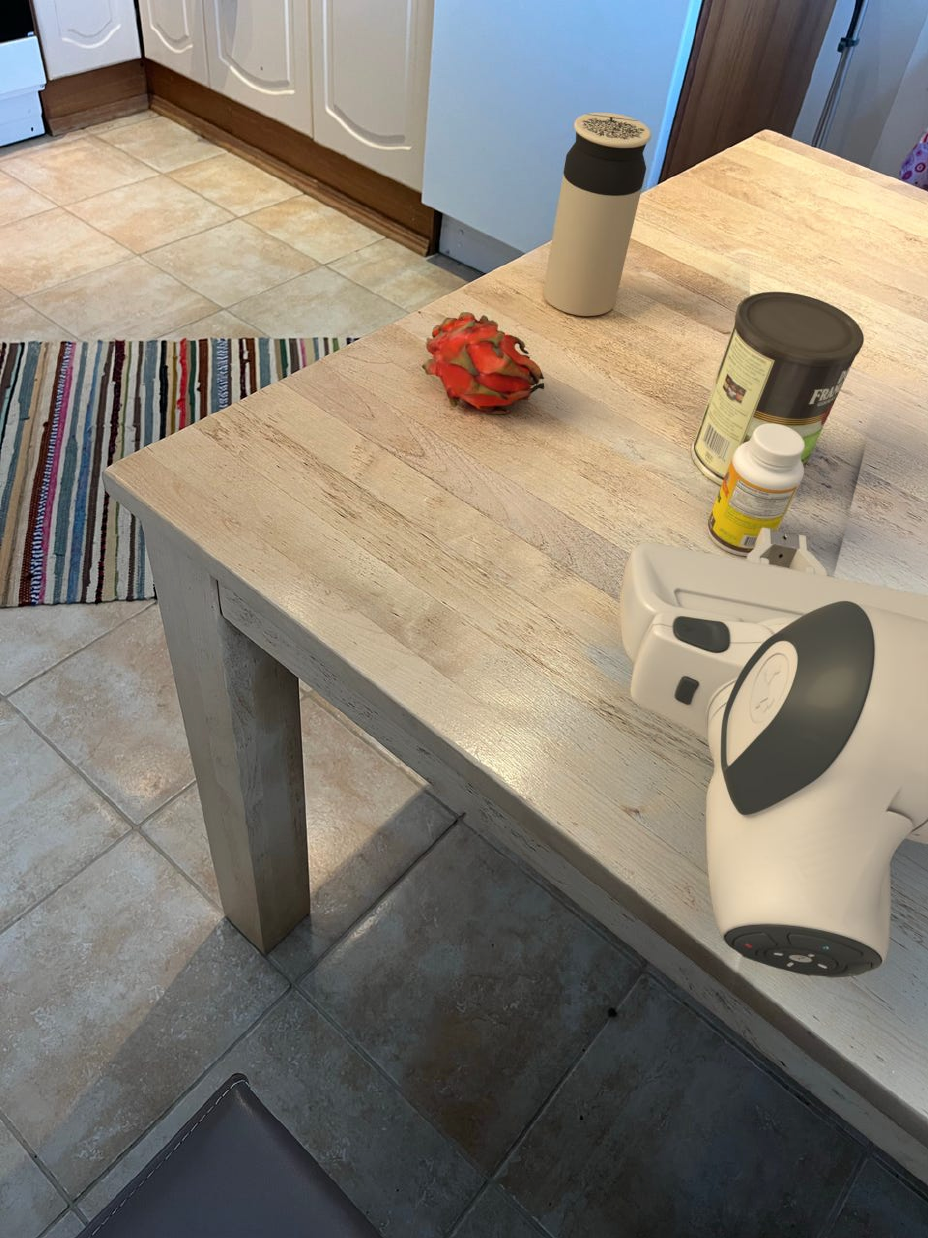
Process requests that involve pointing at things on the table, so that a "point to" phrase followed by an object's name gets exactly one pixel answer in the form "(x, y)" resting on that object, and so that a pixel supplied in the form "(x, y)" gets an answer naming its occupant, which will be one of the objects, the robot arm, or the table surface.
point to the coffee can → (776, 375)
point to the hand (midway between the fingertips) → (780, 538)
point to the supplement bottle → (757, 488)
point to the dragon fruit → (481, 364)
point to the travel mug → (596, 213)
